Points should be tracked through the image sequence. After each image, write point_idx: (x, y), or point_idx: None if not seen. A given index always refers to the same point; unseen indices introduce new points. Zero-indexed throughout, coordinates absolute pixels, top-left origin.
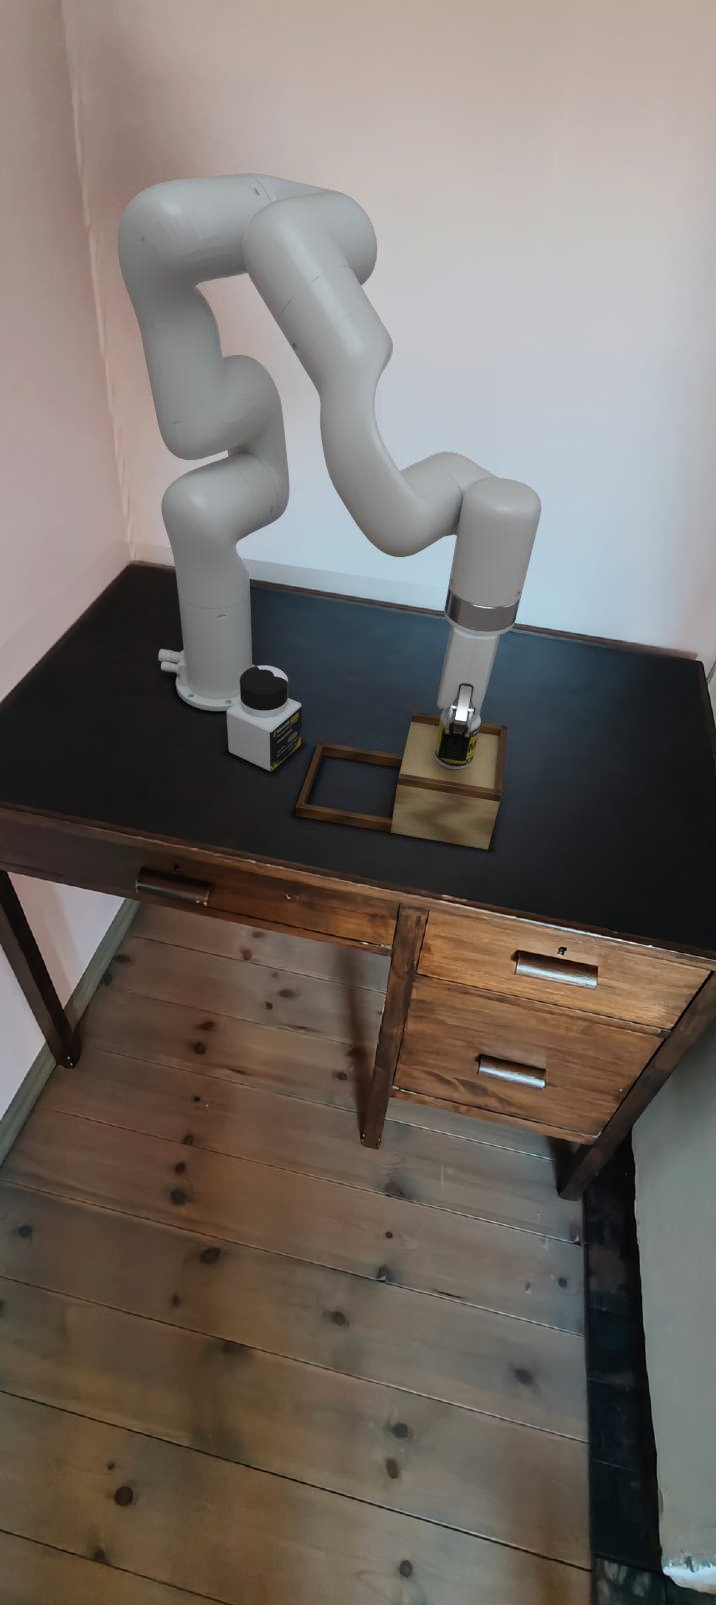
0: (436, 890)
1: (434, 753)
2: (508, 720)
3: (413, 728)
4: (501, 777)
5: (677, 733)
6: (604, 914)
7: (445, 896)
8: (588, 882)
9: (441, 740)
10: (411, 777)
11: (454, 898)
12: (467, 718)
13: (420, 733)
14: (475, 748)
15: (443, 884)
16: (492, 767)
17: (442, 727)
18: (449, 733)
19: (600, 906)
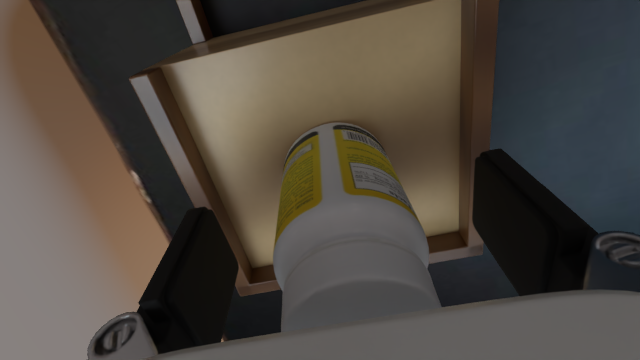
0: (134, 161)
1: (319, 126)
2: (611, 145)
3: (424, 16)
4: None
5: None
6: (237, 321)
7: (134, 176)
8: (275, 303)
9: (162, 260)
10: (155, 115)
11: (140, 187)
12: None
13: (406, 49)
14: None
15: (153, 166)
16: None
17: (291, 209)
18: (149, 318)
19: (246, 317)
